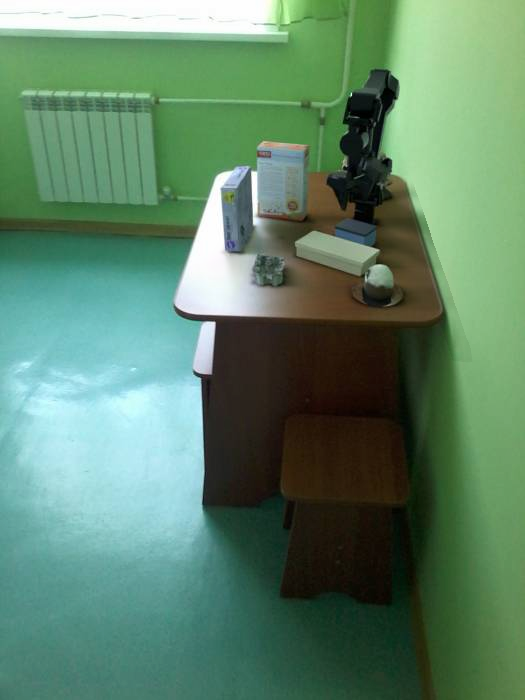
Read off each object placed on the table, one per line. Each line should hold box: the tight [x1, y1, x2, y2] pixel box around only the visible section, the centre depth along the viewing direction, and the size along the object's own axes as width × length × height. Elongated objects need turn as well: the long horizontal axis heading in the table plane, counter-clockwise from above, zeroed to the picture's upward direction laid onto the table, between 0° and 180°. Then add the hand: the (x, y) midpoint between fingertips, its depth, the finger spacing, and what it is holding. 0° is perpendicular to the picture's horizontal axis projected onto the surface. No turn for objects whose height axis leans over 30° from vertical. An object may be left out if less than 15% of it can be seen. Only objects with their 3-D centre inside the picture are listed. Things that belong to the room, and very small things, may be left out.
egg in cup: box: [351, 263, 404, 308], centre depth 147 cm, size 12×10×10 cm
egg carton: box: [252, 253, 286, 287], centre depth 154 cm, size 11×8×4 cm
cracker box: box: [256, 140, 310, 222], centre depth 180 cm, size 14×6×21 cm, turn 71°
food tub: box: [334, 217, 379, 247], centre depth 169 cm, size 7×9×5 cm
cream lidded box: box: [294, 230, 381, 277], centre depth 161 cm, size 9×20×4 cm, turn 53°
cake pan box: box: [220, 165, 254, 253], centre depth 168 cm, size 19×5×18 cm, turn 169°
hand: (354, 206), depth 163 cm, fingers open, 9 cm apart
